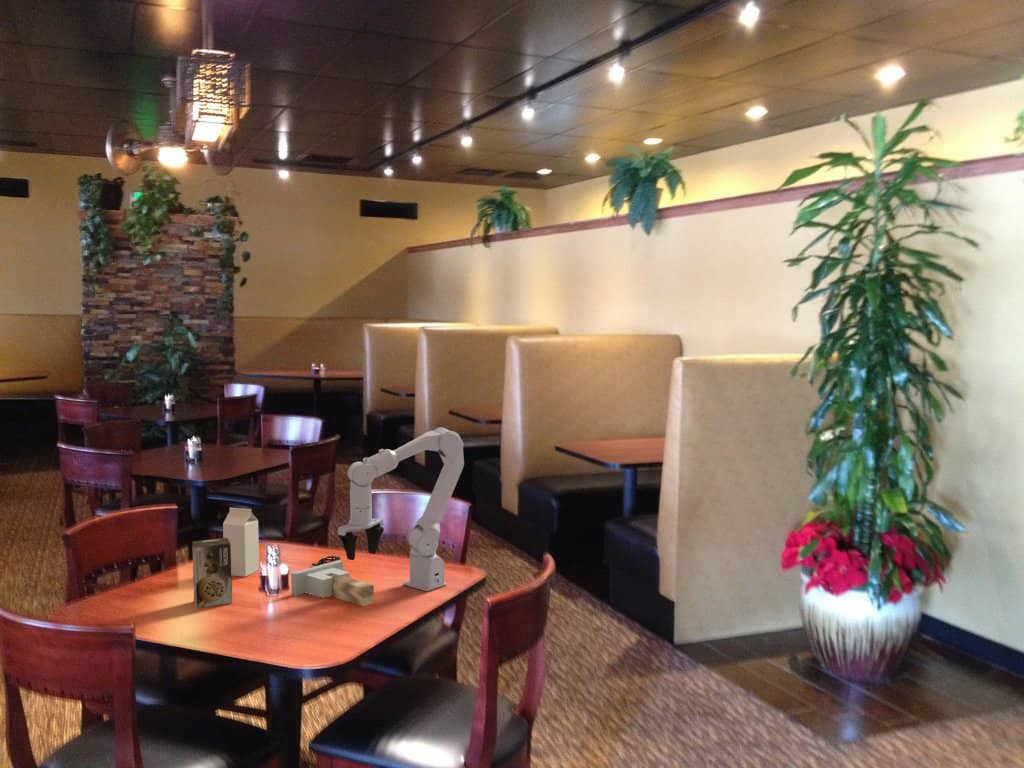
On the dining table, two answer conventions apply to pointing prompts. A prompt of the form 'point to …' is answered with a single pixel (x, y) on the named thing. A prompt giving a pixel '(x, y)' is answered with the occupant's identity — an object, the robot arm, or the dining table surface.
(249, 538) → the milk carton
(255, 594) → the dining table surface
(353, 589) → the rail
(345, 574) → the grey stepped block
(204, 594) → the grey food box
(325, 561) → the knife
